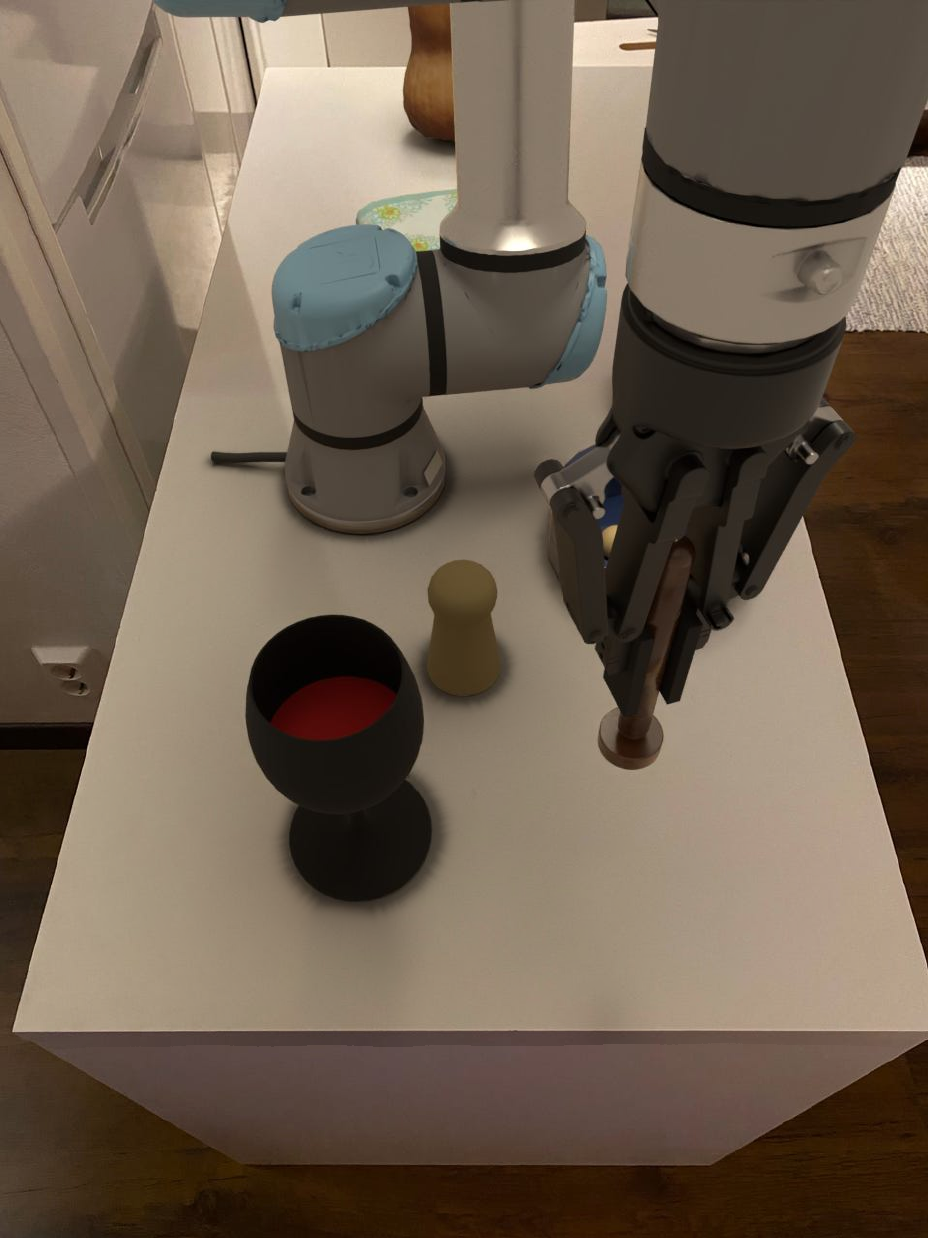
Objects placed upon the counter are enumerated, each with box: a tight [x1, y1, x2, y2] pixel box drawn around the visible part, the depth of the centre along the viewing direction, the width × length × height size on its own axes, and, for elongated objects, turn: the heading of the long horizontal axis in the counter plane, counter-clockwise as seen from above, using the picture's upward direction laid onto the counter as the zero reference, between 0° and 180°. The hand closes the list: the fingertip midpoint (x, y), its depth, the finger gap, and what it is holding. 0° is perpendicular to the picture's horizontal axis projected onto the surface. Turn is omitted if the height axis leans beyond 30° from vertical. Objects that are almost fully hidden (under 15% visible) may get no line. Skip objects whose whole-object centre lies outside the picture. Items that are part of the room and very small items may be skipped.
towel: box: [355, 188, 458, 251], centre depth 113 cm, size 18×21×5 cm
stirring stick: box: [597, 535, 696, 771], centre depth 48 cm, size 4×4×17 cm
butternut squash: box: [402, 3, 455, 143], centre depth 125 cm, size 14×13×25 cm
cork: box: [426, 559, 502, 697], centre depth 73 cm, size 6×6×11 cm
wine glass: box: [244, 614, 433, 902], centre depth 61 cm, size 10×10×20 cm
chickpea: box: [602, 525, 618, 558], centre depth 83 cm, size 3×3×3 cm
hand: (641, 688), depth 50 cm, fingers closed on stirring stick, 2 cm apart
